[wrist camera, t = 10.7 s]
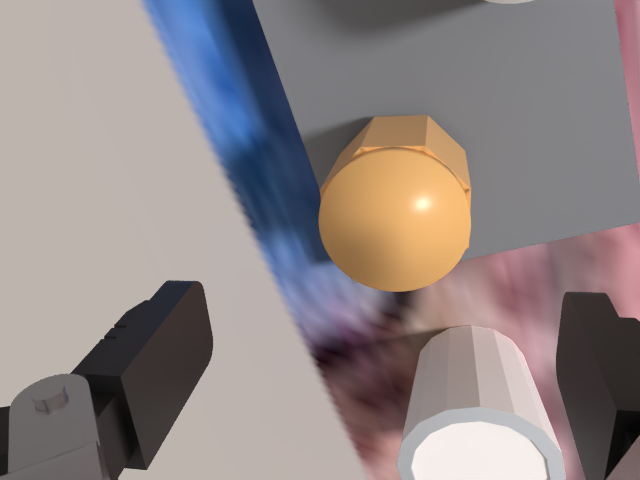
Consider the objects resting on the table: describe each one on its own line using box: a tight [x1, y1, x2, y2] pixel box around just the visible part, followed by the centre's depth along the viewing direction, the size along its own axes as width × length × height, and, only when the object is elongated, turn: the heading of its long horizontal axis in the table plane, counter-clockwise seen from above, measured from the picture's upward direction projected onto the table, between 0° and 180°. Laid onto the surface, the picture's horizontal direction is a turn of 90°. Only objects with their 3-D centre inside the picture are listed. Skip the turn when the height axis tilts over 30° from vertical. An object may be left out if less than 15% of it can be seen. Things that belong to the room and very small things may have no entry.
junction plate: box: [252, 0, 640, 283], centre depth 20 cm, size 16×12×9 cm
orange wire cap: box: [319, 115, 471, 292], centre depth 20 cm, size 5×5×5 cm
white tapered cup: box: [397, 325, 566, 480], centre depth 27 cm, size 7×7×7 cm
